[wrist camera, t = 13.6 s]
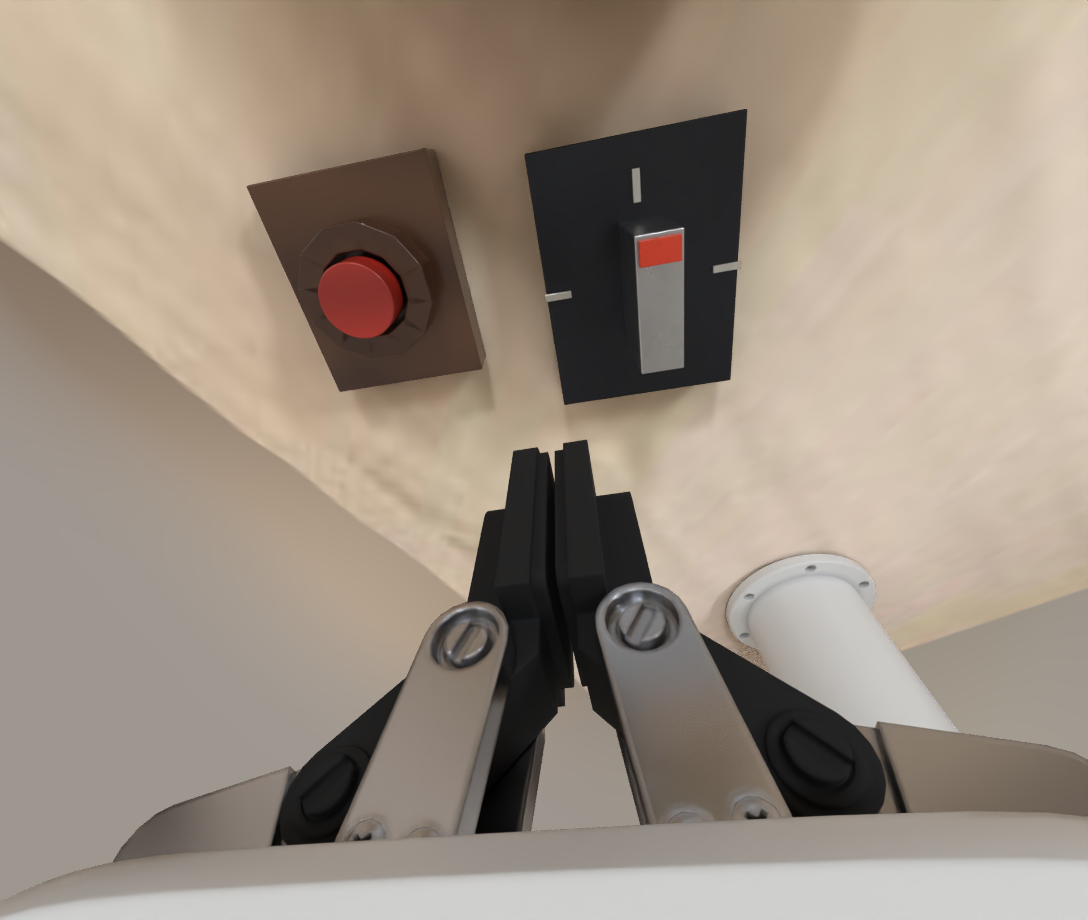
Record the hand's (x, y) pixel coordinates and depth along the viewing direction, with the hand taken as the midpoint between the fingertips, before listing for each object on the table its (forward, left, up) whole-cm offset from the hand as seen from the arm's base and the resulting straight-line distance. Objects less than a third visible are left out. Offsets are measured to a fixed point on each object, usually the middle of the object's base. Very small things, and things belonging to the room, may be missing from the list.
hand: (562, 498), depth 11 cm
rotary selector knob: (0, -5, -17) cm, 17 cm away
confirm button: (+2, +9, -16) cm, 18 cm away
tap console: (0, -5, -19) cm, 20 cm away
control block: (+2, +9, -19) cm, 22 cm away
